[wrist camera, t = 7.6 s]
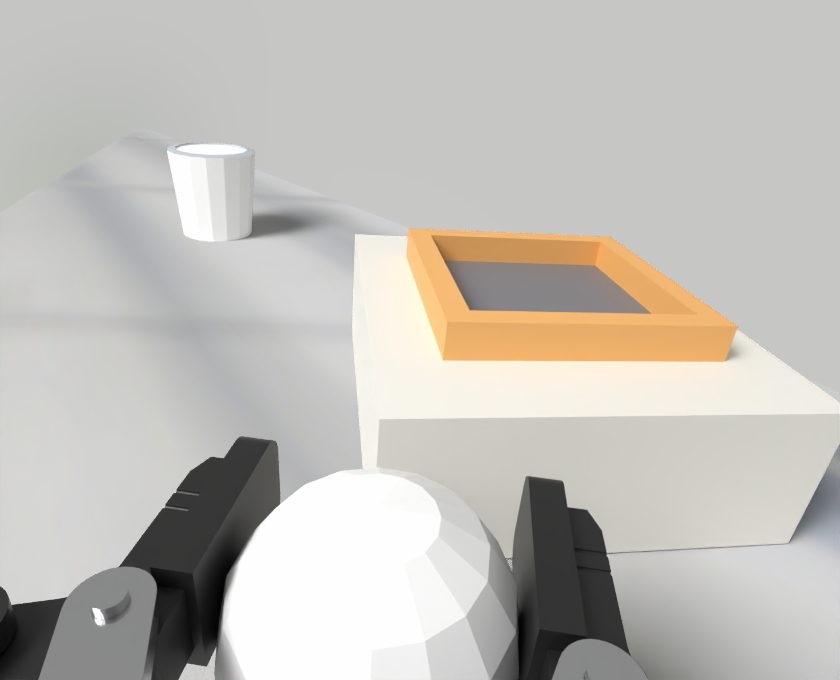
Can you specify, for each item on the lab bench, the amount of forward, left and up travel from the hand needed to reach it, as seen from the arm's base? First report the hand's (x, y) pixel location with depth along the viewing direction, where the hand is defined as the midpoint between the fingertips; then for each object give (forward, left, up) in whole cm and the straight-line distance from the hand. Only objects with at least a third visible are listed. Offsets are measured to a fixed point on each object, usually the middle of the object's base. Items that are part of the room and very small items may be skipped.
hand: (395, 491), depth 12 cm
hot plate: (-8, -15, -7) cm, 19 cm away
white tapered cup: (+11, -42, -7) cm, 44 cm away
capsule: (+1, +2, -6) cm, 7 cm away
